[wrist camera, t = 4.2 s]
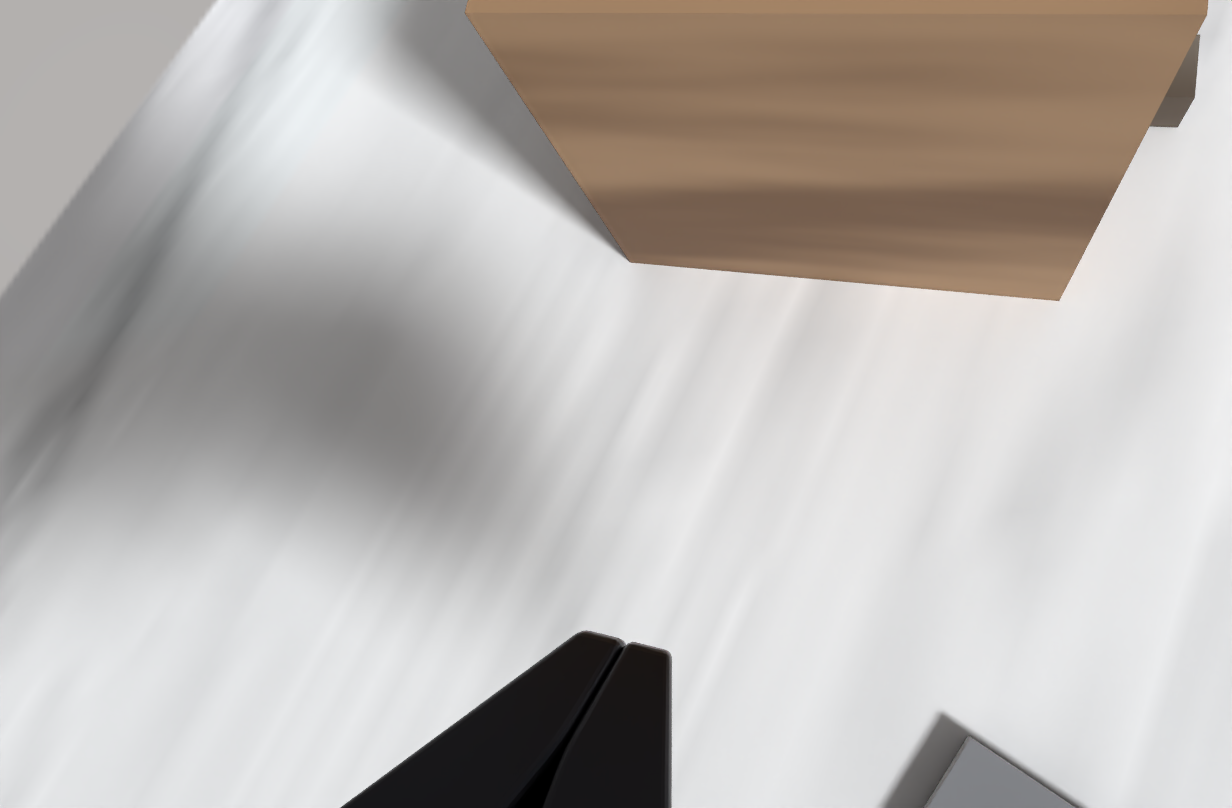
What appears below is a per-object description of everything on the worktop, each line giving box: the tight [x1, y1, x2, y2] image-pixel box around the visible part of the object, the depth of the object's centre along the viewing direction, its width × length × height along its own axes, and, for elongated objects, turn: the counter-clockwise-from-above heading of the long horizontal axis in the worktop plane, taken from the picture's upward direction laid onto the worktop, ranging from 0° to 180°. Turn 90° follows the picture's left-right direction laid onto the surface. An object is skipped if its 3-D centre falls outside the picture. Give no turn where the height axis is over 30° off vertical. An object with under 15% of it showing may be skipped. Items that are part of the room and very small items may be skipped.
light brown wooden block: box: [465, 0, 1208, 301], centre depth 18 cm, size 4×10×10 cm, turn 78°
